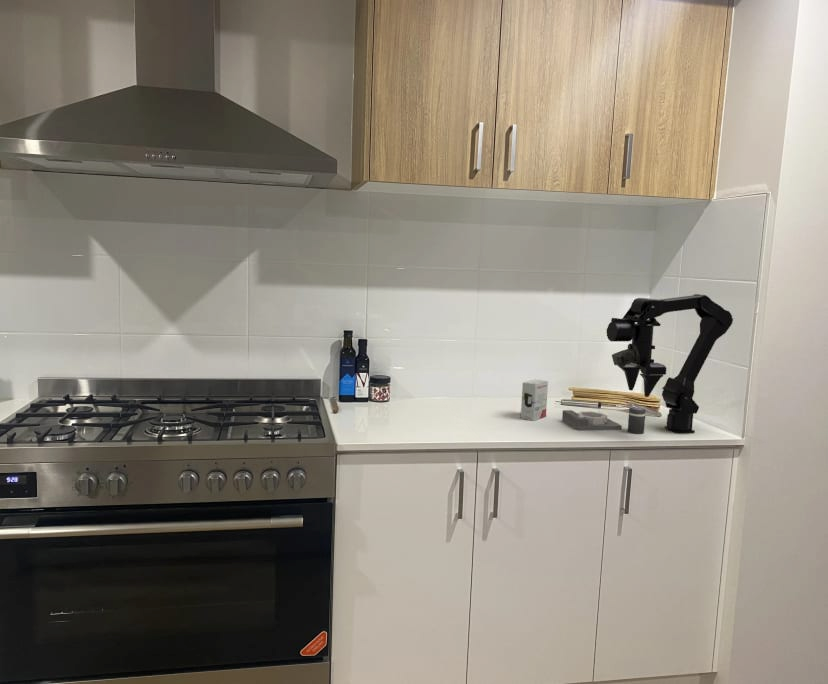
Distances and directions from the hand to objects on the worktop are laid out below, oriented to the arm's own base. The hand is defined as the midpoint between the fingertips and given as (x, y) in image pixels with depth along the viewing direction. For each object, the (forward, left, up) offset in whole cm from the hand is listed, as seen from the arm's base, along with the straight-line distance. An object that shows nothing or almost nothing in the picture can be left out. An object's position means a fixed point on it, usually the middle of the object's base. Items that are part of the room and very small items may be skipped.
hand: (638, 393), depth 198 cm
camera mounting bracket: (+10, -9, -12) cm, 18 cm away
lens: (0, 0, -12) cm, 12 cm away
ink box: (+25, -19, -12) cm, 34 cm away
